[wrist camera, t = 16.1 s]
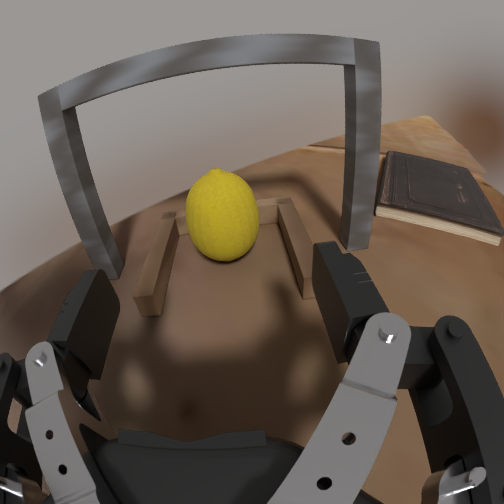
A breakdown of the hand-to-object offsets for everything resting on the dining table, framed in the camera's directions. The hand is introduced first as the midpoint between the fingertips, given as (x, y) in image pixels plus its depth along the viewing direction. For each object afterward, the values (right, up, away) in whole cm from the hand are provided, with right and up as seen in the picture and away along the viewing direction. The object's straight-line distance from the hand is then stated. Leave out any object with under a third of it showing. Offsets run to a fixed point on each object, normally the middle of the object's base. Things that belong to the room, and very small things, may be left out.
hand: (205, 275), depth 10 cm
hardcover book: (+27, +9, +22) cm, 36 cm away
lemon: (0, 0, +13) cm, 13 cm away
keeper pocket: (0, 0, +13) cm, 13 cm away
